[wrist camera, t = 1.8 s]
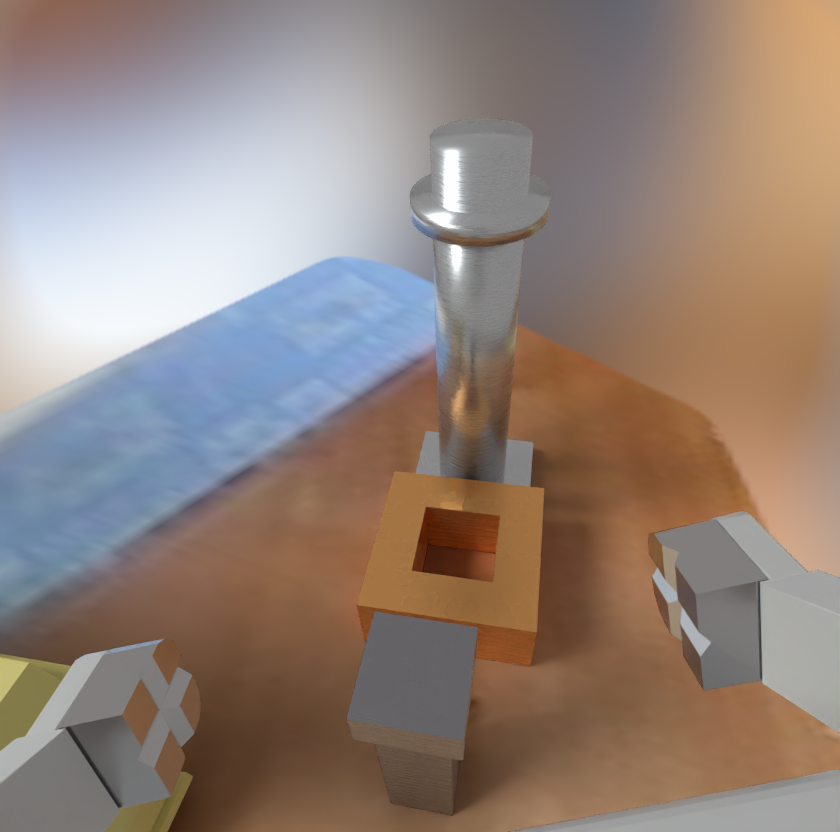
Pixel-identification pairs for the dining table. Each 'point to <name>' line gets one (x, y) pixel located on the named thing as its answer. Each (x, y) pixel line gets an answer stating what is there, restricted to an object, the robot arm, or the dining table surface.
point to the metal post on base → (470, 402)
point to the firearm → (22, 704)
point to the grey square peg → (416, 705)
